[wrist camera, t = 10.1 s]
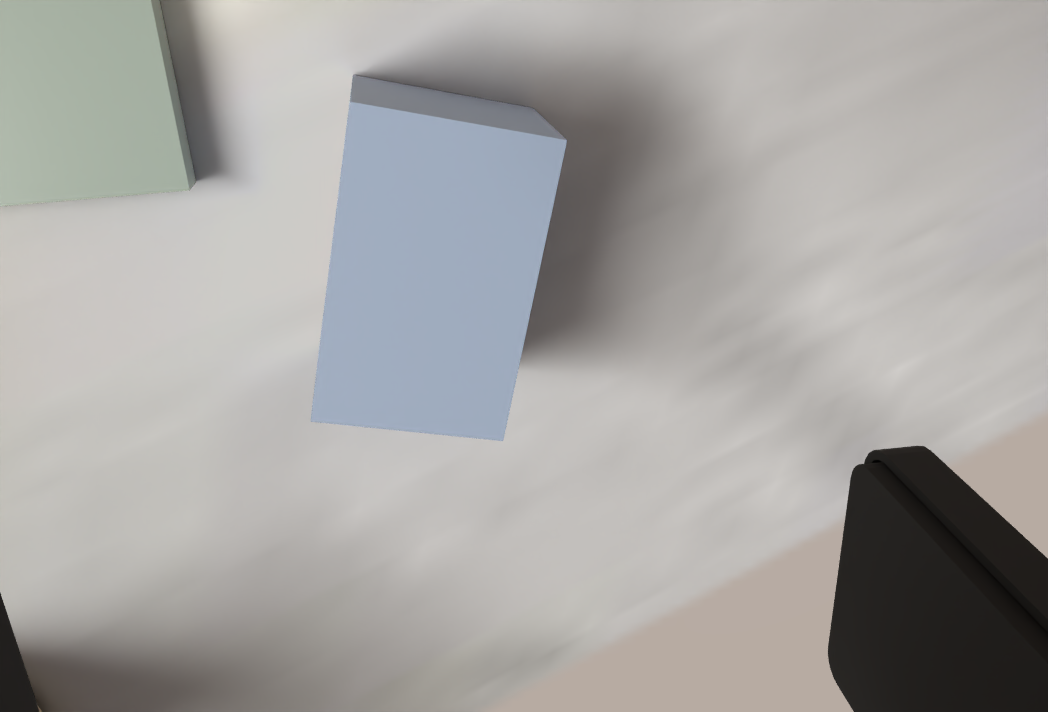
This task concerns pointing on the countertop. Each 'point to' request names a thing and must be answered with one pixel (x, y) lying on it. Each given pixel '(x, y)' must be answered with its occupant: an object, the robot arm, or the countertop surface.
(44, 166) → the build plate
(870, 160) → the countertop surface
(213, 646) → the countertop surface
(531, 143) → the slate brick
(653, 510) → the countertop surface
